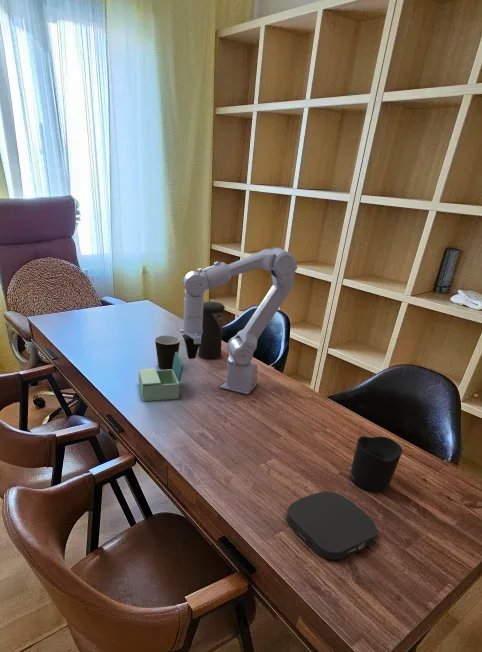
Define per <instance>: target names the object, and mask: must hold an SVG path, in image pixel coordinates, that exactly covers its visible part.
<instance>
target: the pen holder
mask: <svg viewBox="0 0 482 652" xmlns="http://www.w3.org/2000/svg"><path fill="white" fill-rule="evenodd" d="M402 454H403V449H402V446H401V445H400V444H399V443H398V441H396V440H394V439H392V438H390V437H387V436H374V437H373V436H365V435H364V436H363V435H361V436H360V437H358V438H357V443H356V447H355V451H354V455H353V459H352V464H351V468H350V475H349V477H350V480H351V482H352V483H353V484H354V485H355V486H356V487H358V488H359V489H362V490H364V491H366V492H370V493H378V492H379V493H380V492H384V491H385V490H387V489H388V487H389V486H390V484H391V481H392V479H393V476H394V474H395V471H396V469H397V466H398V463H399V461H400V459H401V458H402V457H401V456H402Z"/></svg>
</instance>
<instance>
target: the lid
mask: <svg viewBox="0 0 482 652" xmlns="http://www.w3.org/2000/svg"><path fill="white" fill-rule="evenodd" d="M172 368H173V371H174V373H175V376H176V378H177V380H178V383H181V378H182V373H183V368H184V365H183V363H182V360H181V358H180V356H179V353H178V354H177V352H175V356H174V361H173V366H172Z"/></svg>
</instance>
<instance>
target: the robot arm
mask: <svg viewBox="0 0 482 652" xmlns="http://www.w3.org/2000/svg"><path fill="white" fill-rule="evenodd" d="M257 269H261V270H264V271H268V272H270V274H271V279H272V286H271V287H270V289H269V290H268V292H267V293H266V295H265V296H264V298H263V299H262V301H261V302H260V303H259V305H258V307H257V308H256V309H255V311H254V313H253V314H252V316H251V317H250V319H249V320H248V322H247V323H246V325H245V326H244V328H243V329H240V330H238V332H237V333H236V335H234V336H233V337H231V338H230V339H229V340H228V342H227V345H226V348H227V351H228V352H229V355H228V357H227V363H226V364H227V365H226V375H225V382H224V383H223V384H222V385H221V386H220V388H221V389H225V390H228V391H231V392H237V393H240V394H245V395H249V394H250V393H251V392H252V391H253V389H254V388H256V386H257V376H258V375H257V374H258V365H257V364H256V363H253V362H252V360H253V358H254V353H255V351H256V350H257V348H258V347H257V346H258V341H259V340H258V339H259V338H260V336H261V335H262V333H263V332H264V330H265V329H266V328H267V326H268V325H269V324H270V322H271V321H272V319H273V318H274V317H275V315H276V313H277V311H278V310H279V309H280V307H281V306H282V304H283V303H284V301H285V300H286V298H287V297H288V296H289V294H290V293H291V291H292V289H293V286H294V281H295V274H296V271H297V270H298V265H297V260H296V257H295V256H294V254H293V253H291V252H289V251H287V250H285V249H284V248H282V247H280V246H273V247H270V248H265V249H263V250H260V251H258V252H256V253H253V254H251V255H248V256H246V257H243V258H241V259H239V260H236V261H233V262H231V263H229V264H227V263H225V262H224V261H222V262H220V261H215V262H213V265H211V266H207V267H205V268H202V267H200V268H197V270H198V271H195V270H192V271H189V272H187V273H186V275H185V276H184V277H183V280H182V284H183V287H184V293H183V294H184V297H183V319H182V320H183V322H182V323H183V325H182V328H179V329H178V331H179V333H180V334H182V338H183V340H184V344H185V348H186V354H187V355H186V356H187V358H188V359H189V360H194V359H195V360H196V358H197V354H198V352H199V346H200V344H201V342H202V340H203V338H202V337H201V336H202V333H203V329H202V324H203V304H204V302H205V301H204V293H206V291H207V290H212V289H214V288H217V287H219V286H223V285H225V284H228V283H229V282H230V280H231V279H232V278H233V276H238V275H241V274H244V273H247V272H251V271H254V270H257Z"/></svg>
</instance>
